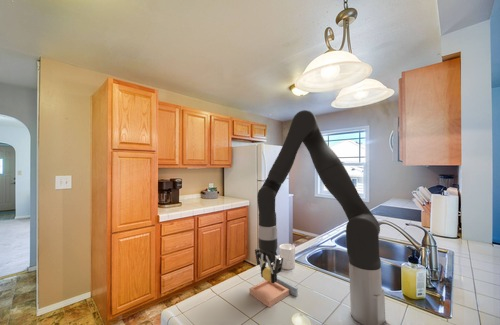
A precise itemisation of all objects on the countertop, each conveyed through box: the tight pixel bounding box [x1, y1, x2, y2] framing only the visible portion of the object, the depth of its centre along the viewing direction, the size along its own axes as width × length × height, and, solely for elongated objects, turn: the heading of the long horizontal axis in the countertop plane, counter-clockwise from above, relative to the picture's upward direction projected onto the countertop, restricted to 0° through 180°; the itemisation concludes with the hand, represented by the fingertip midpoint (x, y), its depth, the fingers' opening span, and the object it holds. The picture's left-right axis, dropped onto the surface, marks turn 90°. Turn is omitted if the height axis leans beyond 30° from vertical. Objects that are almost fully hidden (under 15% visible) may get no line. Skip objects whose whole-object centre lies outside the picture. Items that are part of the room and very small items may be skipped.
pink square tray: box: [249, 279, 290, 308], centre depth 81 cm, size 11×11×2 cm
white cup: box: [278, 243, 296, 271], centre depth 104 cm, size 8×8×10 cm
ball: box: [262, 266, 271, 281], centre depth 82 cm, size 5×5×5 cm
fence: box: [276, 276, 299, 297], centre depth 85 cm, size 15×1×3 cm, turn 40°
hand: (268, 279), depth 82 cm, fingers closed on ball, 5 cm apart
